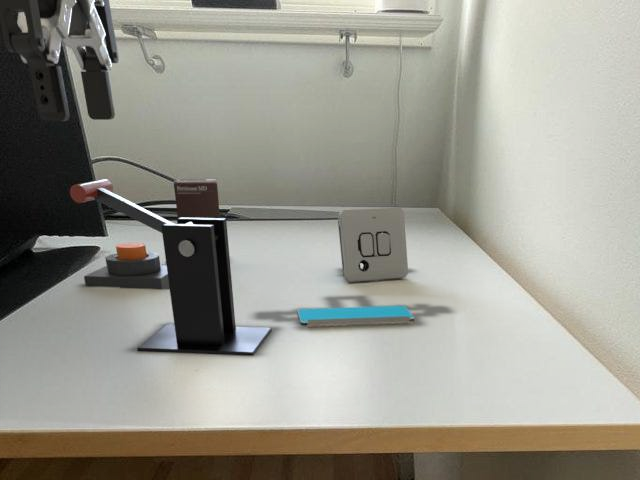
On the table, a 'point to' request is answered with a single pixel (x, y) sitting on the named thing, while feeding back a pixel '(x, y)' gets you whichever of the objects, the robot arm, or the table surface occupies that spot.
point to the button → (131, 251)
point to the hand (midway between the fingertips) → (80, 120)
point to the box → (196, 198)
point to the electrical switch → (373, 244)
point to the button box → (130, 273)
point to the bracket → (201, 294)
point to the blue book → (355, 316)
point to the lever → (117, 203)
